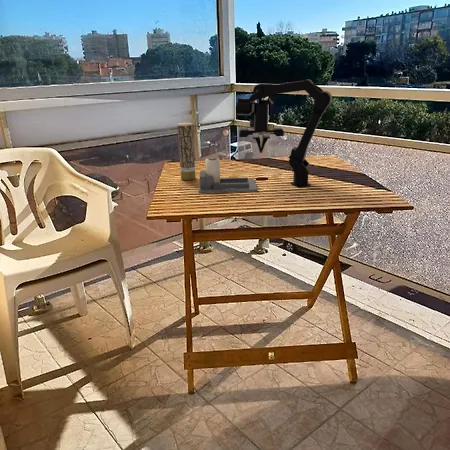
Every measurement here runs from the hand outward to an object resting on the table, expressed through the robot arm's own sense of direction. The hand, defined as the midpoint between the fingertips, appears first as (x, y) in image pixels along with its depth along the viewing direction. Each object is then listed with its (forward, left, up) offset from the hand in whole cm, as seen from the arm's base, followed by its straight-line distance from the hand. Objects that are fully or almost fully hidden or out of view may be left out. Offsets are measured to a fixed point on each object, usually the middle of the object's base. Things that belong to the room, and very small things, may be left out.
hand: (260, 152), depth 171 cm
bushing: (+2, +21, -12) cm, 25 cm away
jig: (0, +16, -13) cm, 21 cm away
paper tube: (+20, +27, -13) cm, 36 cm away
